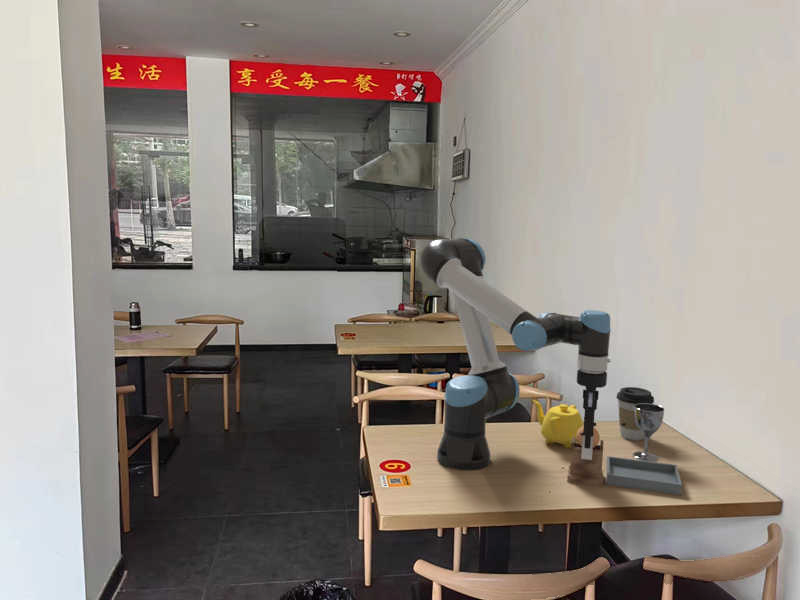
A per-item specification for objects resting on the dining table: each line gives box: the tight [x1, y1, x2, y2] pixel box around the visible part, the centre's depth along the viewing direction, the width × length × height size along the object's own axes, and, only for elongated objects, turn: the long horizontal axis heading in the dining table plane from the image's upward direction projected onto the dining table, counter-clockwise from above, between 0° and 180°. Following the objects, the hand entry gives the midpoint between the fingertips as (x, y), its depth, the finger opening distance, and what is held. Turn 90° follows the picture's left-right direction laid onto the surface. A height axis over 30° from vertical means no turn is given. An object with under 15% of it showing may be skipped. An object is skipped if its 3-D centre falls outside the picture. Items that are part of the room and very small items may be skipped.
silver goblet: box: [632, 403, 665, 462], centre depth 182 cm, size 8×8×15 cm
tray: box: [605, 455, 683, 496], centre depth 167 cm, size 18×13×3 cm
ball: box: [576, 426, 601, 448], centre depth 165 cm, size 6×6×6 cm
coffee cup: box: [615, 386, 655, 441], centre depth 198 cm, size 11×11×15 cm
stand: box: [566, 437, 604, 487], centre depth 166 cm, size 9×7×10 cm
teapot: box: [532, 399, 584, 449], centre depth 193 cm, size 14×14×12 cm
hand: (586, 453), depth 166 cm, fingers closed on ball, 6 cm apart
